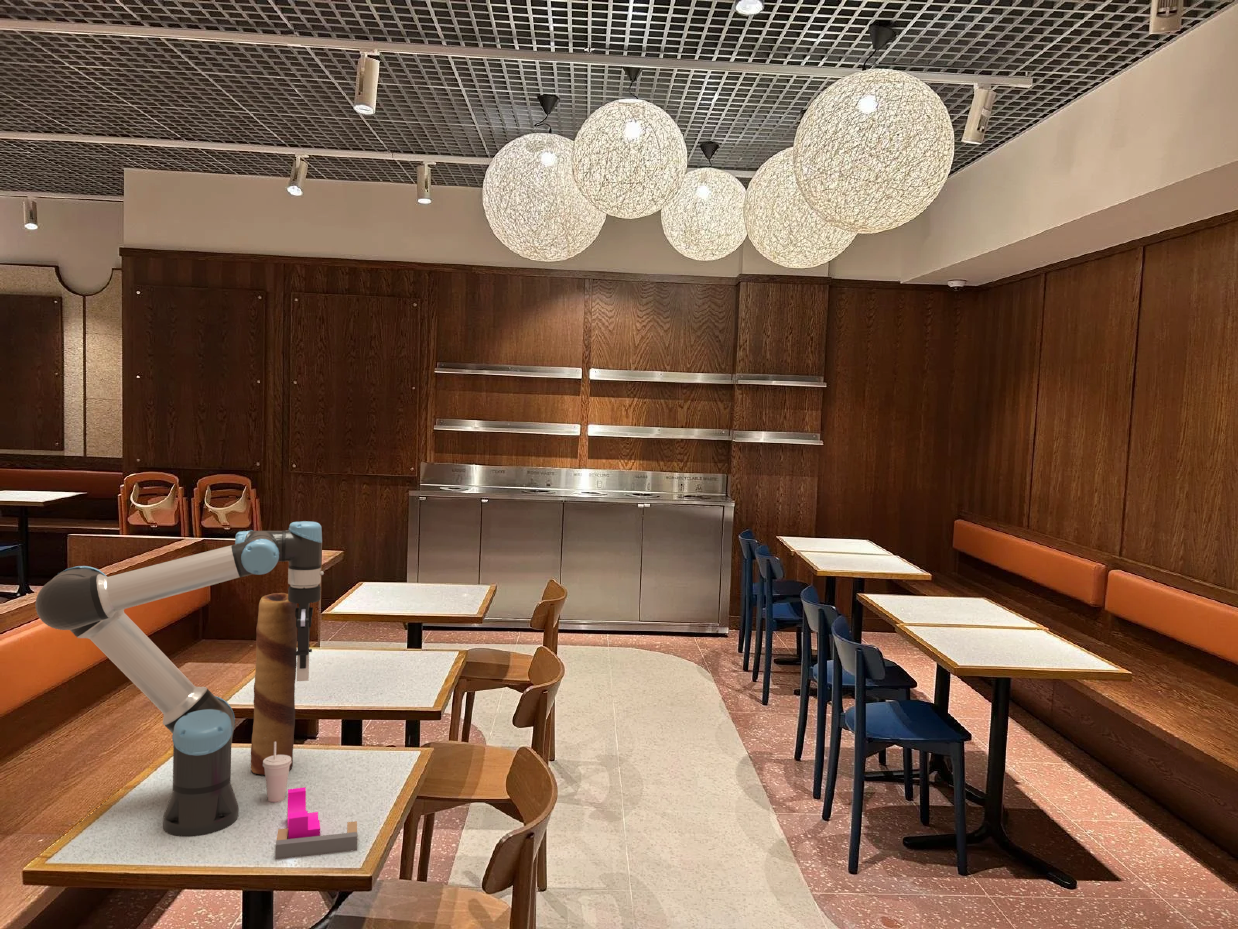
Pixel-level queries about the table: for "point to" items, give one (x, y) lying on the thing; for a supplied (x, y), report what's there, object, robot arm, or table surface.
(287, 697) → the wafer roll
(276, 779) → the smoothie
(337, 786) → the table surface
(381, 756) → the table surface
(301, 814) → the toy block
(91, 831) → the table surface
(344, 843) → the stop board
